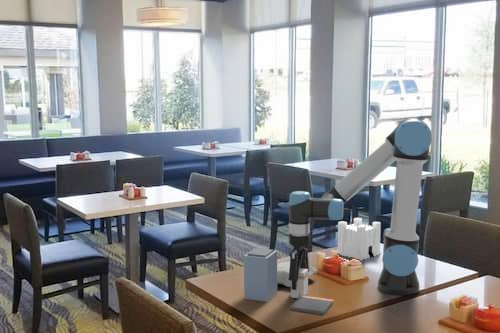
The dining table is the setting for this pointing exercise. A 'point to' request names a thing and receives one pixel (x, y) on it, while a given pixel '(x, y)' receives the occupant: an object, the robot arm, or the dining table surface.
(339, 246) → the castle model
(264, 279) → the box
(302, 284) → the cartridge
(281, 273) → the rock
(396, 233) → the robot arm
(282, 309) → the dining table surface
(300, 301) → the mat
